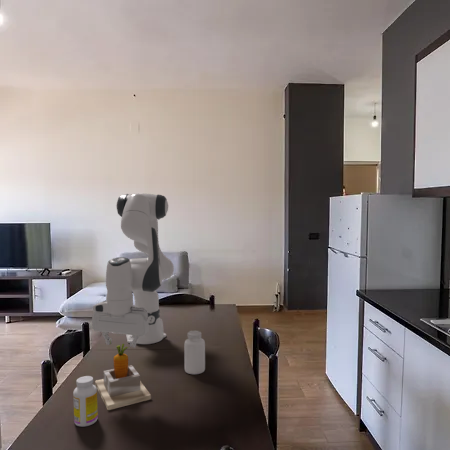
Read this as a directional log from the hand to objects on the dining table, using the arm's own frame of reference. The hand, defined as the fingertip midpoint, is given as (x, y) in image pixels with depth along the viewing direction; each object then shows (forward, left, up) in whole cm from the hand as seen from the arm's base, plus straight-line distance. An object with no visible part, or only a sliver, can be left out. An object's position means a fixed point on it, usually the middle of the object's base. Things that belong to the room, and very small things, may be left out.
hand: (120, 345), depth 134 cm
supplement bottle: (+13, -14, -16) cm, 25 cm away
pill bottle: (-3, +29, -16) cm, 33 cm away
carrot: (0, 0, -15) cm, 15 cm away
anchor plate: (0, 0, -16) cm, 16 cm away
